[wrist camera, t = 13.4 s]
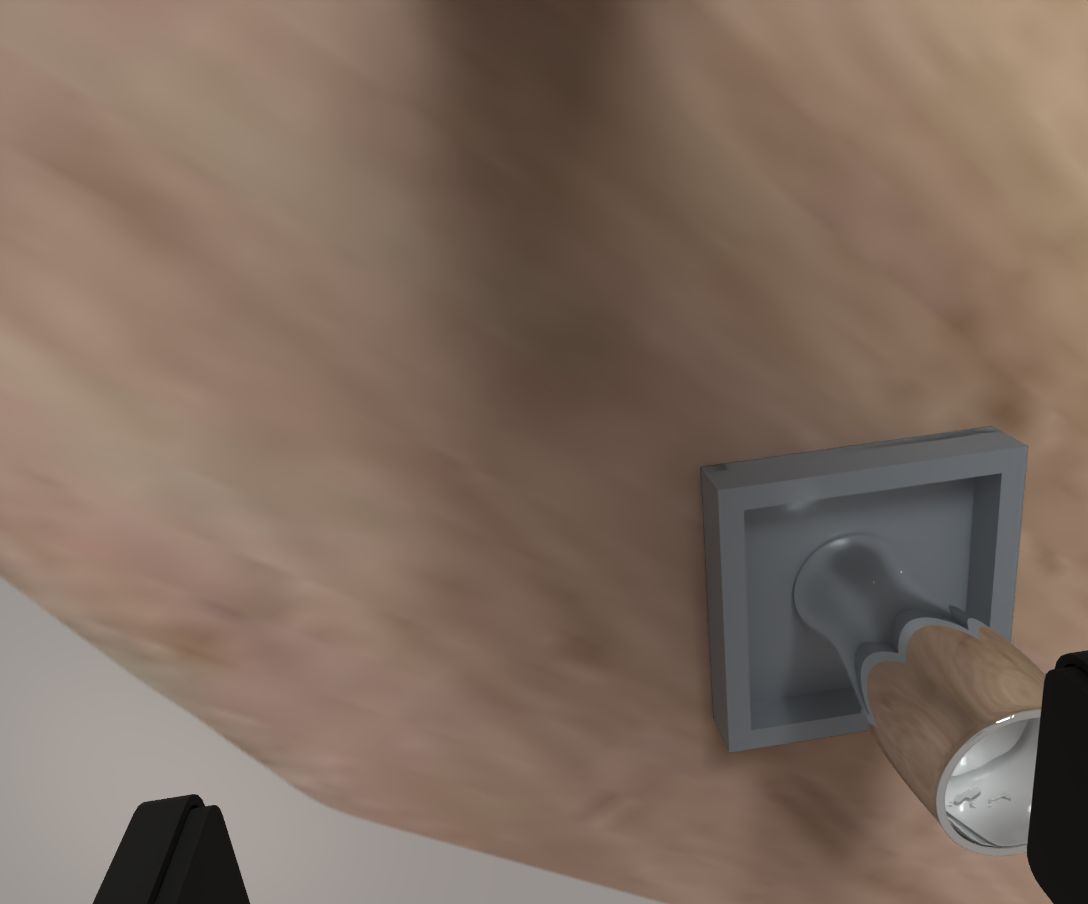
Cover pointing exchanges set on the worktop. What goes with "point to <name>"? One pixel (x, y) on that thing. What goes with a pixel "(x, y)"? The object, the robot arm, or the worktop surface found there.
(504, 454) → the worktop surface
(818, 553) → the beer glass
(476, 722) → the worktop surface
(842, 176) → the worktop surface
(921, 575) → the slate tray
